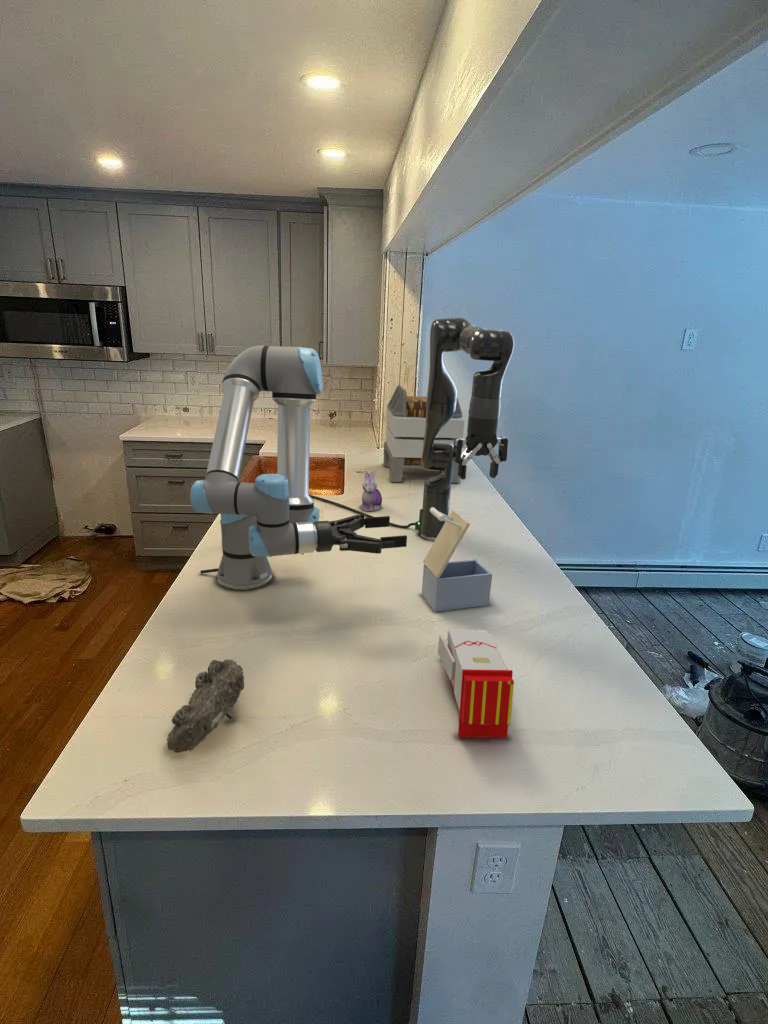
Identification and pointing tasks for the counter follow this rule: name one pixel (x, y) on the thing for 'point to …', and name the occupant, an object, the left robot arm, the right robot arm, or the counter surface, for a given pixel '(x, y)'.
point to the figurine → (371, 493)
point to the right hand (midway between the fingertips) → (477, 477)
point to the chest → (457, 586)
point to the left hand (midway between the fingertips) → (397, 530)
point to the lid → (445, 541)
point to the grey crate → (414, 433)
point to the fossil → (206, 705)
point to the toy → (478, 682)
